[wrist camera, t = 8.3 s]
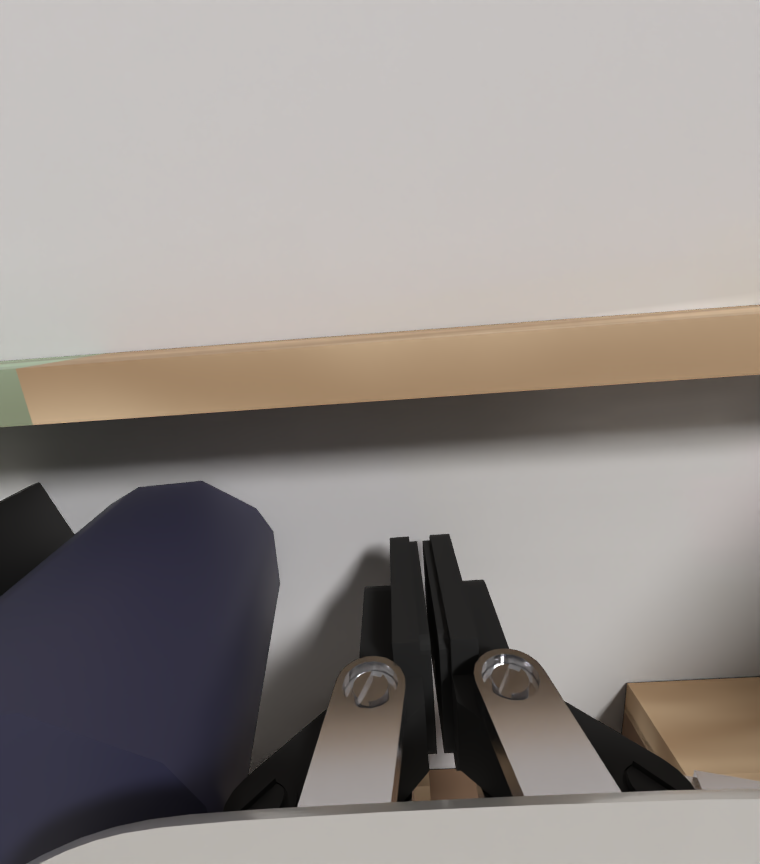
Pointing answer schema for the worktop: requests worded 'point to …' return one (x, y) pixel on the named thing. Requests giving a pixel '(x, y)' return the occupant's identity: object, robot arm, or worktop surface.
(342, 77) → the worktop surface
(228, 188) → the worktop surface
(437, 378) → the trap channel
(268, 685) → the worktop surface
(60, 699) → the black blue bulged block
